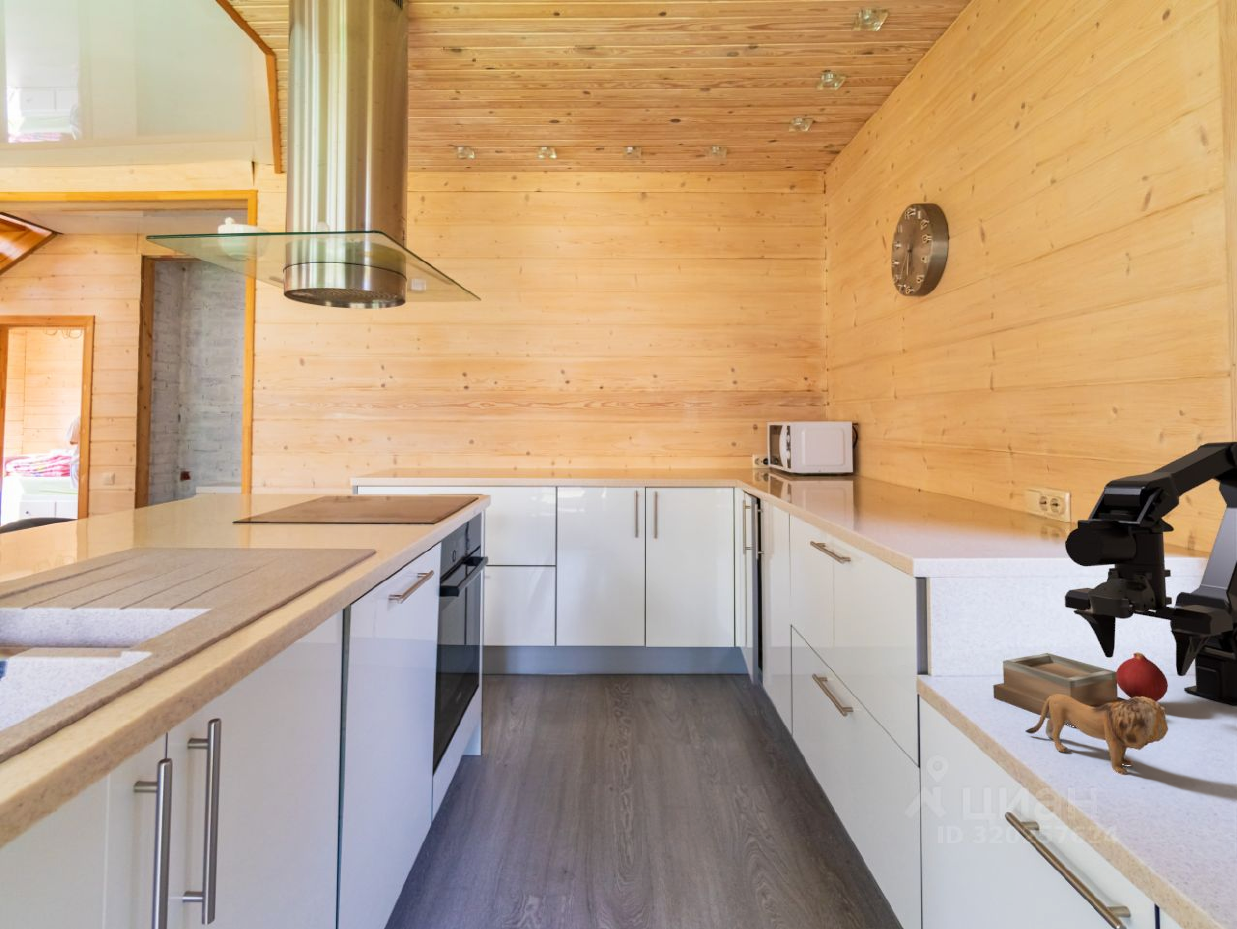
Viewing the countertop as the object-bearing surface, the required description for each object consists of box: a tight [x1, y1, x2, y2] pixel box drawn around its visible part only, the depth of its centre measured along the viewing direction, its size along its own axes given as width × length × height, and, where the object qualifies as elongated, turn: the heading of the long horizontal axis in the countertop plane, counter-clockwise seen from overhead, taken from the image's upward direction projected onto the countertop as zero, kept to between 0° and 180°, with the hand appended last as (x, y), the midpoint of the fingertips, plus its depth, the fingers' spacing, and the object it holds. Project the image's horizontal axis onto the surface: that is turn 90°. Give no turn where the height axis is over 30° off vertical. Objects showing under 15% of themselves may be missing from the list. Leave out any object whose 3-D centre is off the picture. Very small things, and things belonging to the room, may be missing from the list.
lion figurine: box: [1025, 694, 1169, 775], centre depth 73 cm, size 15×5×9 cm, turn 34°
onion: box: [1116, 652, 1169, 703], centre depth 88 cm, size 6×6×8 cm
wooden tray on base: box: [992, 652, 1128, 727], centre depth 89 cm, size 12×12×6 cm
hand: (1143, 666), depth 88 cm, fingers open, 9 cm apart
